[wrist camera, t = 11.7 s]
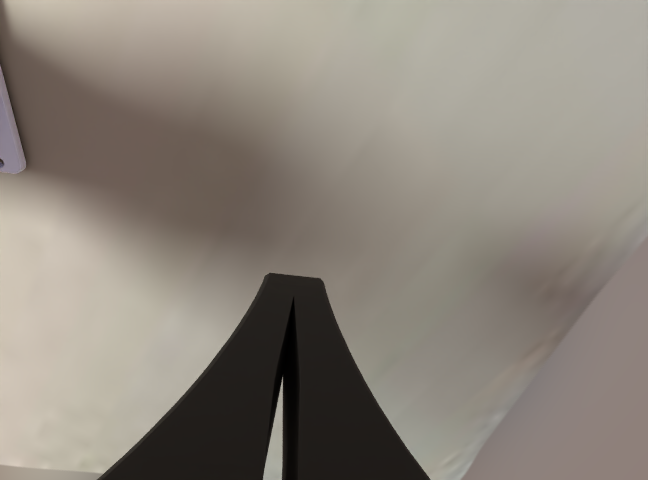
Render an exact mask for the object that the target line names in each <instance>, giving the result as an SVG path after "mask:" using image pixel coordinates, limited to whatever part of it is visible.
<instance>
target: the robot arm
mask: <svg viewBox="0 0 648 480" xmlns="http://www.w3.org/2000/svg"><path fill="white" fill-rule="evenodd" d="M0 159H2V160H3V162H4V164H3V163H1V162H0V172H5V173H12V174H16V173H19V172H21V171H23V170H24V169H25V168H26V160H25V157H24V153H23V149H22V145H21V142H20V138H19V134H18V130H17V126H16V123H15V119H14V115H13V111H12V107H11V104H10V100H9V96H8V92H7V88H6V85H5V81H4V77H3V73H2V69H1V66H0ZM282 377H283V468H282V480H430V478H429V477H428V476H427V474H426V473H425V472H424V470H423V469H422V468H421V466H420V465H419V464H418V462H417V461H416V460H415V458H414V457H413V456H412V454H411V453H410V452H409V450H408V449H407V447H406V446H405V444H404V443H403V441H402V440H401V439H400V437H399V436H398V434H397V433H396V431H395V430H394V428H393V427H392V425H391V424H390V422H389V420H388V419H387V417H386V416H385V414H384V412H383V411H382V409H381V408H380V406H379V405H378V403H377V401H376V399H375V398H374V396H373V394H372V393H371V391H370V389H369V387H368V386H367V384H366V382H365V380H364V378H363V376H362V374H361V373H360V371H359V369H358V367H357V365H356V363H355V361H354V359H353V357H352V355H351V353H350V351H349V349H348V347H347V344H346V342H345V340H344V338H343V335H342V333H341V331H340V329H339V326H338V324H337V322H336V319H335V316H334V314H333V311H332V308H331V306H330V303H329V300H328V297H327V293H326V290H325V285H324V282H323V281H322V280H321V279H320V278H311V277H302V276H293V275H284V274H275V273H269V274H267V275H266V276H265V277H264V280H263V283H262V285H261V287H260V289H259V291H258V293H257V295H256V297H255V299H254V301H253V302H252V304H251V306H250V307H249V309H248V311H247V312H246V314H245V315H244V317H243V318H242V320H241V322H240V323H239V325H238V326H237V328H236V329H235V331H234V332H233V334H232V335H231V336H230V338H229V339H228V341H227V342H226V343H225V345H224V346H223V347H222V348H221V350H220V351H219V352H218V354H217V355H216V356H215V358H214V359H213V360H212V362H211V363H210V364H209V366H208V367H207V368H206V369H205V370H204V372H203V373H202V374H201V375H200V376H199V378H198V379H197V380H196V381H195V382H194V384H193V385H192V386H191V387H190V388H189V389H188V390H187V392H186V393H185V394H184V395H183V396H182V397H181V398H180V399H179V400H178V402H177V403H176V404H175V405H174V406H173V407H172V408H171V409H170V410H169V411H168V412H167V413H166V414H165V415H164V416H163V417H162V418H161V419H160V420H159V421H158V422H157V423H156V425H155V426H154V427H153V428H152V429H151V430H150V431H149V432H148V433H147V434H146V435H145V436H144V437H143V438H142V439H141V440H140V441H139V442H138V443H137V444H136V445H135V446H133V447H132V448H131V449H130V450H129V451H128V452H127V453H126V454H125V455H124V456H123V457H122V458H121V459H119V460H118V461H117V462H116V463H115V464H114V465H113V466H112V467H111V468H110V469H108V470H107V471H106V472H105V473H104V474H103V475H102V476H101V477H100V478H98V479H97V480H263V474H264V468H265V463H266V458H267V453H268V447H269V442H270V437H271V432H272V427H273V422H274V417H275V412H276V407H277V402H278V397H279V392H280V387H281V382H282Z"/></svg>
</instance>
